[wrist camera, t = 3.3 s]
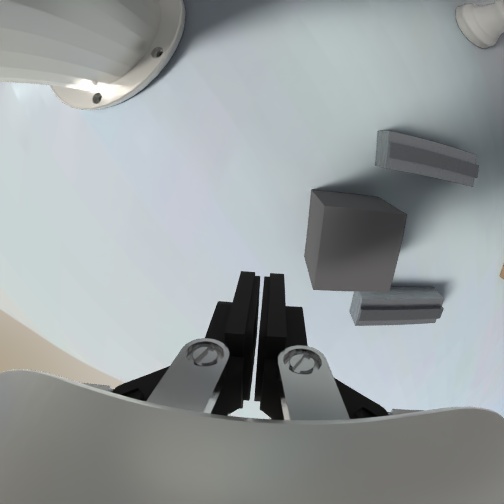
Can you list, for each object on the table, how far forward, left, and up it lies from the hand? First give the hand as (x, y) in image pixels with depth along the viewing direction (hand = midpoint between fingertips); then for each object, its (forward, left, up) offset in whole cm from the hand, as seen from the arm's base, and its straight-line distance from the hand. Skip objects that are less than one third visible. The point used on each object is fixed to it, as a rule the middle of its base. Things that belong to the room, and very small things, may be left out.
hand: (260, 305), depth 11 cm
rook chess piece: (-21, +18, -10) cm, 29 cm away
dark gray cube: (-1, +6, -10) cm, 11 cm away
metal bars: (-1, +12, -10) cm, 15 cm away
